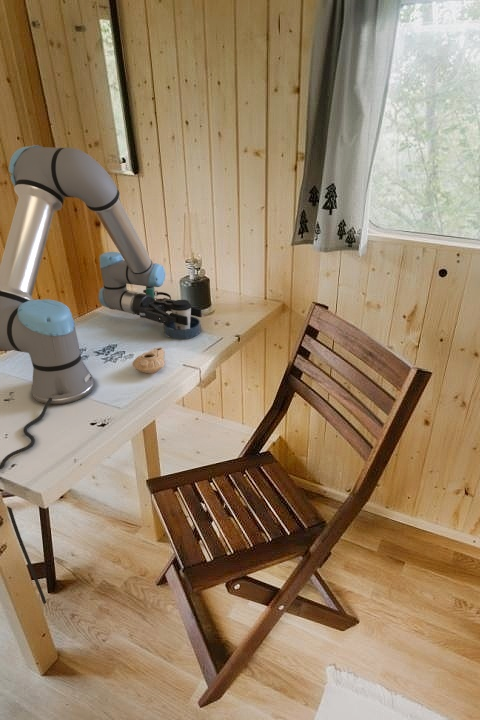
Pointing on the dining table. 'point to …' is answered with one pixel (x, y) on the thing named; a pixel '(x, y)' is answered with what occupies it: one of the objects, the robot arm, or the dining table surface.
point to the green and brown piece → (151, 292)
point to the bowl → (183, 333)
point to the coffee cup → (181, 312)
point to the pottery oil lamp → (150, 361)
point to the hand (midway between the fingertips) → (193, 317)
